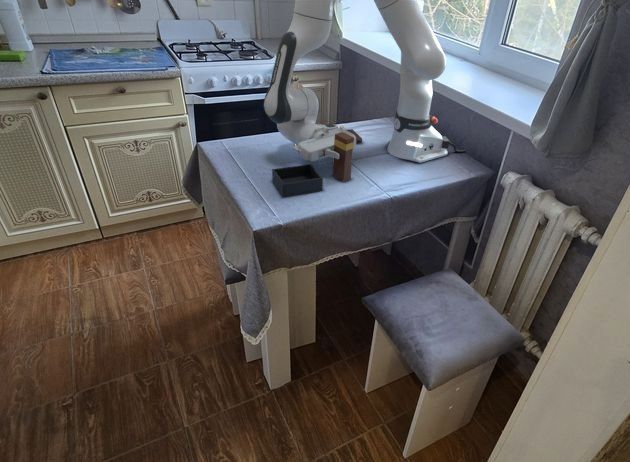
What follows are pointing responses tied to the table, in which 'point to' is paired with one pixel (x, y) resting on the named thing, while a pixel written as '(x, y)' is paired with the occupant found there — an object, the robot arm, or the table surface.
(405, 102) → the robot arm
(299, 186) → the tray
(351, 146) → the chocolate box
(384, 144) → the table surface
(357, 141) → the ice cream bar
